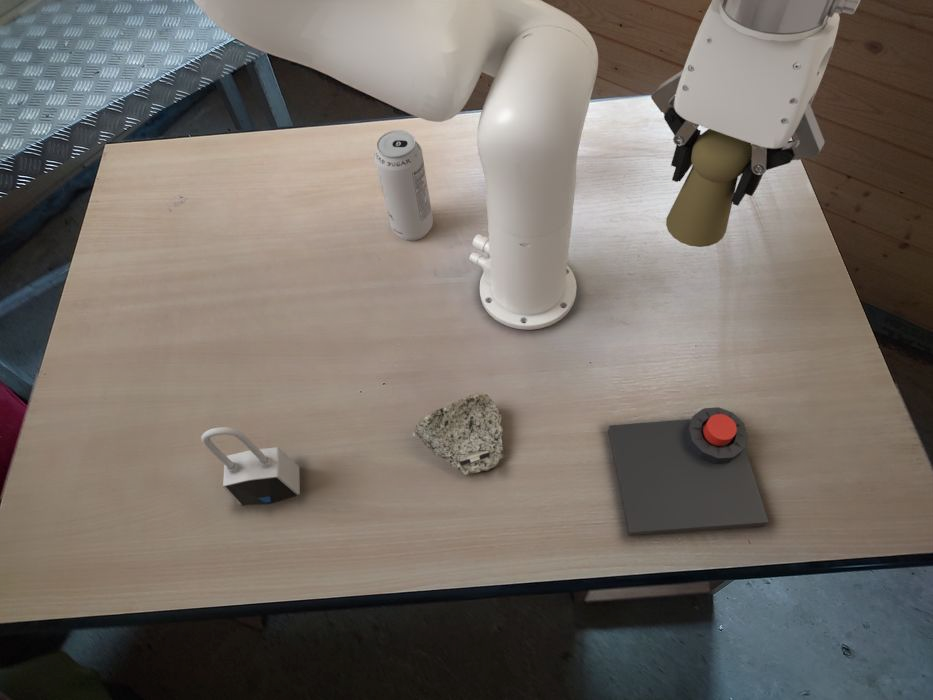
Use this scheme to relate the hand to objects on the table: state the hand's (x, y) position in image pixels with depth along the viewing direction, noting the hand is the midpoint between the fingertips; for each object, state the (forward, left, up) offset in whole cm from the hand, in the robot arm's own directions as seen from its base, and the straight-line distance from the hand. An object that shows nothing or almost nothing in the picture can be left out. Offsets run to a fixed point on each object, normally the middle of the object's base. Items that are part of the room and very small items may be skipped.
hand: (710, 182), depth 59 cm
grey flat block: (+12, -17, -22) cm, 31 cm away
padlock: (-24, -45, -22) cm, 56 cm away
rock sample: (-9, -28, -23) cm, 37 cm away
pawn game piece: (0, 0, -6) cm, 6 cm away
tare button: (+12, -12, -20) cm, 26 cm away
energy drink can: (-36, -6, -22) cm, 43 cm away
